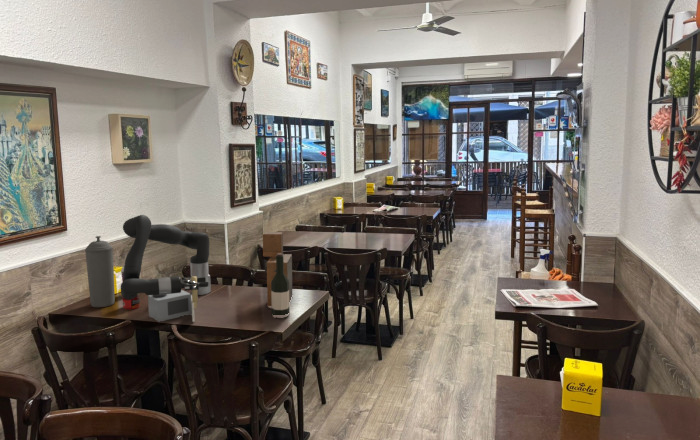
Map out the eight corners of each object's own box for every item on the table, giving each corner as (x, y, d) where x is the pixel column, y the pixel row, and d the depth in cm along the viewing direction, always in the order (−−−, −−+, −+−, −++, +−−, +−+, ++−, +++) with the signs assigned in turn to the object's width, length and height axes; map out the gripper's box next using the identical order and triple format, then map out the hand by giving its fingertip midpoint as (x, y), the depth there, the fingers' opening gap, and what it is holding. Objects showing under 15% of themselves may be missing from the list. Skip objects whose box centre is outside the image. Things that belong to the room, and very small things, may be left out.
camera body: (181, 308, 257) (180, 286, 255) (191, 314, 249) (190, 291, 247) (148, 315, 246) (147, 292, 244) (158, 321, 238) (157, 297, 236)
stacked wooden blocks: (265, 296, 277) (264, 232, 272) (292, 297, 277) (291, 232, 272) (259, 308, 258) (257, 238, 253) (288, 308, 258) (287, 239, 253)
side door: (191, 313, 248) (189, 271, 245) (197, 313, 249) (195, 271, 246) (192, 322, 236) (190, 278, 233) (198, 321, 237) (197, 277, 234)
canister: (122, 301, 267) (118, 234, 262) (104, 309, 255) (100, 239, 249) (100, 299, 270) (96, 233, 265) (82, 307, 258) (77, 237, 252)
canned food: (134, 310, 254) (133, 288, 252) (119, 309, 255) (118, 287, 254) (143, 305, 261) (142, 284, 260) (129, 304, 263) (127, 283, 261)
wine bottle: (281, 319, 242) (281, 256, 237) (268, 316, 246) (267, 254, 241) (293, 314, 249) (292, 253, 244) (279, 311, 253) (278, 251, 248)
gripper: (170, 281, 225) (208, 277, 232) (167, 273, 238) (204, 270, 245) (171, 297, 226) (209, 293, 233) (168, 289, 239) (204, 285, 246)
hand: (206, 281), depth 239 cm, fingers open, 8 cm apart
